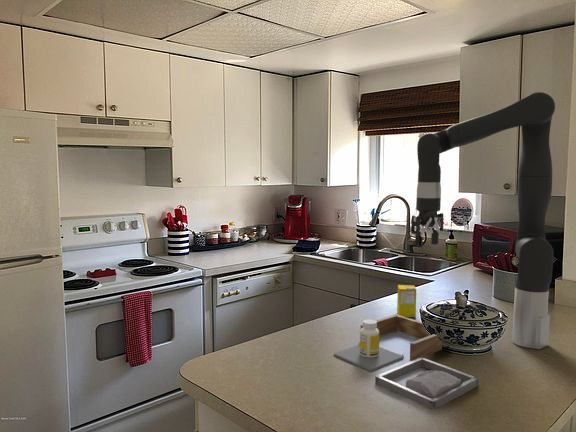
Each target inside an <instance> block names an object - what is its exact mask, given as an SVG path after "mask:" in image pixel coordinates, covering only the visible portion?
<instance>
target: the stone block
mask: <svg viewBox="0 0 576 432" xmlns="http://www.w3.org/2000/svg"><path fill="white" fill-rule="evenodd" d="M460 384H462V382H461V380H460V379H458V378H456V377H454V376H452V375H450V374H448V373H446V372H443V371H436V370H434V371H433V370H430V369H429V370H426V371H423V372H420V373H418V374H417V375H416V376H414V377H412V378H408V379H406V382H405V387H406V388H409V389H411V390H413V391H415V392H418V393H420V394H422V395H425V396H427V397H429V398H431V399H433V398H435V397H437V396H439V395H441V394H442V393H444V392H446V391H448V390H450V389H452V388H454V387H456V386H458V385H460Z"/></svg>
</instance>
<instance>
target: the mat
mask: <svg viewBox="0 0 576 432" xmlns="http://www.w3.org/2000/svg"><path fill="white" fill-rule="evenodd" d="M333 356H334V357H337V358H339V359H341V360H343V361H346V362H348V363H350V364H353V365H354V366H357V367H359V368H362V369H364V370H366V371H368V372H370V373H371V372H374V371H375V370H378V369H381V368H383V367H386V366H389V365H391V364H394V363H396V362H398V361H400V360H403V359H404V357H405V356H404V355H401V354H399V353H397V352H393V351H391V350H388V349H386V348H384V347H381V346H379V355H378V356H377V357H374V358H367V357H363V356H362V355H361V354H360V344H357V345H354V346H351V347H349V348H345V349H342V350H340V351H337V352H334V353H333Z"/></svg>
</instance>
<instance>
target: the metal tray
mask: <svg viewBox="0 0 576 432" xmlns="http://www.w3.org/2000/svg"><path fill="white" fill-rule="evenodd" d="M420 367H422V368H425V369H428V370H429V371H430V370H432V371H434V370H436V371H443V372H446V373H448V374H450V375H452V376H454V377H456V378H458V379H460V380H461V384H460V385H458V386H456V387H454V388H452V389H450V390H448V391H446V392H444V393H442V394H441V395H439V396H437V397H435V398H433V399H431V398H429V397H427V396H425V395H422V394H420V393H418V392H415V391H413V390H411V389H409V388H406V386H404V385H401V384H399V383H397V382H395V381H392V380H394V379H395V378H397V377H398V378H399V377H400V376H402V375H404V374H405V375H406V374H407V373H410V372H411V371H414V370H417V369H419V368H420ZM374 383H375V385H376V386H379V387H381V388H384V389H385V390H388V391H390V392H392V393H395V394H397V395H398V396H401V397H403V398H405V399H408V400H410V401H413V402H414V403H417V404H419V405H421V406H423V407H425V408H427V409H429V410H431V411H434V410H436V409H438V408H440V407H442V406H443V405H445V404H447V403H449V402H451V401H453V400H454V399H456V398H458V397H460V396H462V395H464V394H466V393H468V392H470V391H471V390H473V389H475V388H476V387H478V386H479V377H476V376H473V375H470V374H468V373H465V372H463V371H460V370H457V369H454V368H452V367H449V366H446V365H443V364H441V363H439V362H437V361H433V360H430V359H428V358H425V357H420V358H418V359H415V360H413V361H411V360H410V361H408V362H405V363H404V364H401V365H399V366H397V367H396V366H395V367H394V368H392V369H389V370H387V371H385V372H383V373H380V374H377V375H375V381H374Z"/></svg>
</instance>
